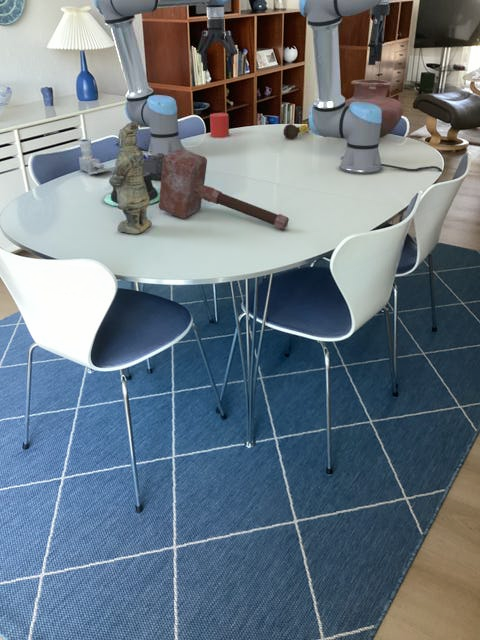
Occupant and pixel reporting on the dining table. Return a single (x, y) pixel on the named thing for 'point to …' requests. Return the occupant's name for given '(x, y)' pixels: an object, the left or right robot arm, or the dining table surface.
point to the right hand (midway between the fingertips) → (374, 63)
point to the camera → (90, 159)
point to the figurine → (295, 130)
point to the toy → (154, 165)
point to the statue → (131, 182)
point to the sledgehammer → (200, 190)
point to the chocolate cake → (152, 192)
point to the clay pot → (378, 102)
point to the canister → (219, 125)
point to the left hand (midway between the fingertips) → (217, 71)
